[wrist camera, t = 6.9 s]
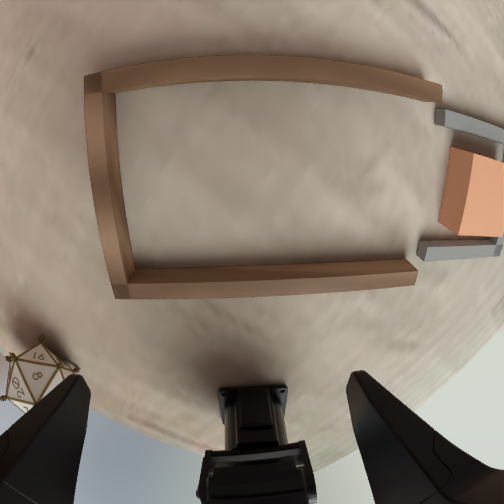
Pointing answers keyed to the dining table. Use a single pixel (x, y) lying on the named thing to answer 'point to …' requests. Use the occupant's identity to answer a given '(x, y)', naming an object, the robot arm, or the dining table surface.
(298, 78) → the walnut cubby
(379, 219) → the dining table surface
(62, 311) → the dining table surface
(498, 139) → the grey bay
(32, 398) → the game die
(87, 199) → the dining table surface
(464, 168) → the terracotta block
